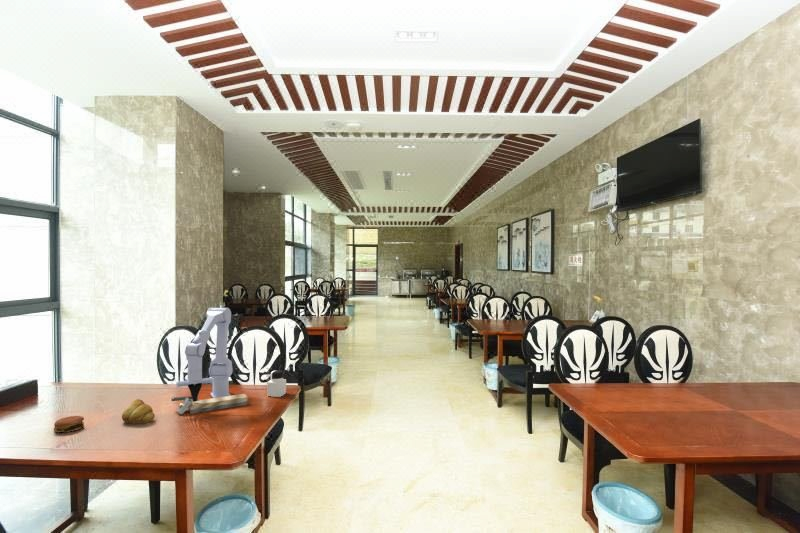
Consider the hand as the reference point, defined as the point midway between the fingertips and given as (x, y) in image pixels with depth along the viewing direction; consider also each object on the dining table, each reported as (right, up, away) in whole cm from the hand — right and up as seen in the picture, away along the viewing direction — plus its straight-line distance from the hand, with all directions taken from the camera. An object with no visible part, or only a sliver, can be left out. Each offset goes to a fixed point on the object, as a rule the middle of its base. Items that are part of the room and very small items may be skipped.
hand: (194, 401), depth 187 cm
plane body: (+8, -4, +5) cm, 11 cm away
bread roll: (-16, -4, -14) cm, 22 cm away
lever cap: (-3, -2, -2) cm, 4 cm away
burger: (-38, -4, -22) cm, 44 cm away
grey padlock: (+29, -5, +25) cm, 39 cm away
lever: (-6, -4, +2) cm, 7 cm away
